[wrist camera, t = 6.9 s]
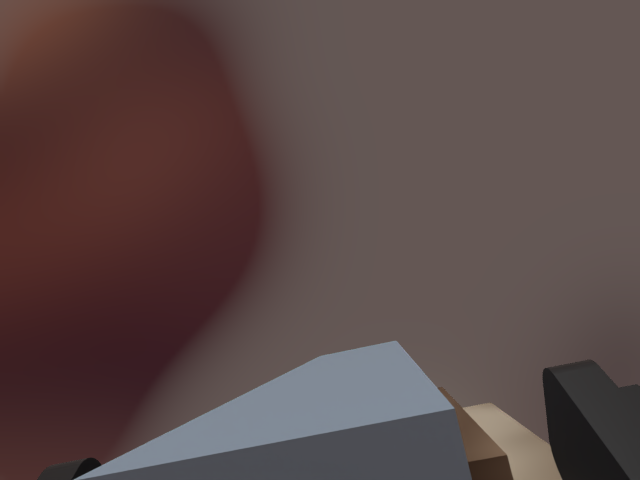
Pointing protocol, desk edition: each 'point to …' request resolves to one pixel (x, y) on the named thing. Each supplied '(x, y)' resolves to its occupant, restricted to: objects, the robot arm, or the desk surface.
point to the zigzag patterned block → (501, 445)
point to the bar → (315, 428)
